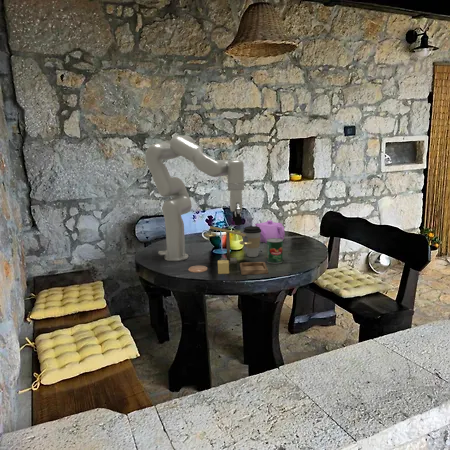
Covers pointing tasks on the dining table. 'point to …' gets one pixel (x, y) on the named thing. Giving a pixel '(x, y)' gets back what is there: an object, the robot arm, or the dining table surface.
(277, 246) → the canned tomato
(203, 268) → the terracotta dish
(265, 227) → the teakettle
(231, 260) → the balance
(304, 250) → the dining table surface
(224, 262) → the ochre block
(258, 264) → the walnut tray
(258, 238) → the coffee cup
